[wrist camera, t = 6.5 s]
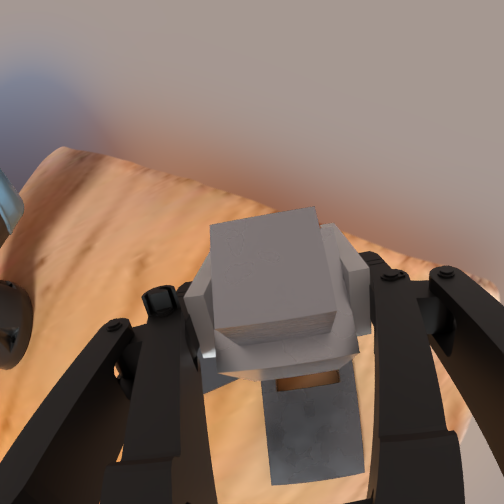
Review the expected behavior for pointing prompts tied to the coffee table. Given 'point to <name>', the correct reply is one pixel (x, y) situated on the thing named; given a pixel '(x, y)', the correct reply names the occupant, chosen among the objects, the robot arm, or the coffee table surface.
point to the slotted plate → (313, 431)
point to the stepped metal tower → (279, 297)
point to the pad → (212, 374)
